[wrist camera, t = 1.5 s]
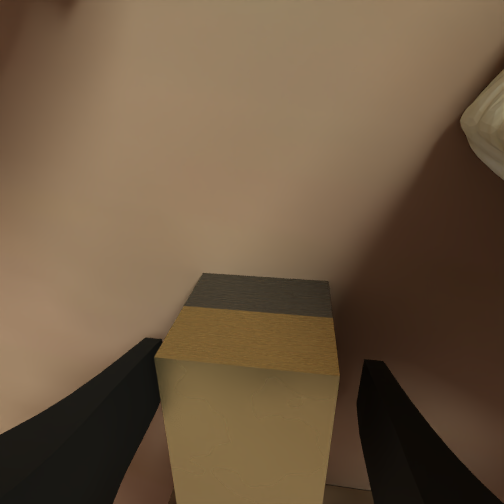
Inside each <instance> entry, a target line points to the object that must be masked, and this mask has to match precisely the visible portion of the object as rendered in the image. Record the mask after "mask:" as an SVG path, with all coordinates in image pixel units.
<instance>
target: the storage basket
mask: <svg viewBox="0 0 504 504" xmlns="http://www.w3.org/2000/svg"><path fill="white" fill-rule="evenodd" d="M460 124H461V128H462V129H463V131H464V133H465V134H466V137H467V140H468V142H469V145H470V147H471V148H472V150H473V151H474V153H475V154H476V155H477V157H479V158H480V159H481V160H482V161H483V162H484V163H485V164H486V165H487V166H488V167H489V168H490V169H491V170H492V171H493V172H494V173H495V174H497V175H498V176H499V177H500V178H502V179H503V180H504V69H503V70H502V71H501V72H500V73H499V74H498V75H497V76H496V78H495V79H494V80H493V81H492V82H491V83H490V84H489V85H488V86H487V87H486V88H485V89H484V90H483V91H482V92H481V94H480V95H479V96H478V97H477V98H476V99H475V101H474V102H473V103H472V104H471V105H470V106H469V107H468V108H467V109H466V110H465V112H464V113H463V115H462V117H461V120H460Z"/></svg>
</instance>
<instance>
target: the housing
mask: <svg viewBox="0 0 504 504" xmlns="http://www.w3.org/2000/svg"><path fill="white" fill-rule="evenodd" d="M154 360H155V366H156V373H157V379H158V386H159V392H160V399H161V405H162V412H163V418H164V425H165V431H166V438H167V444H168V450H169V457H170V463H171V470H172V476H173V483H174V489H175V496H176V502H177V504H322V503H323V496H324V489H325V482H326V474H327V467H328V460H329V452H330V445H331V438H332V430H333V423H334V416H335V408H336V401H337V394H338V386H339V379H340V373H339V365H338V356H337V348H336V340H335V332H334V323H333V315H332V307H331V299H330V290H329V282H328V281H315V280H300V279H285V278H270V277H255V276H240V275H225V274H210V273H203V274H202V276H201V278H200V279H199V281H198V283H197V285H196V286H195V288H194V290H193V291H192V293H191V295H190V297H189V298H188V300H187V302H186V303H185V305H184V307H183V309H182V310H181V312H180V314H179V315H178V317H177V319H176V321H175V322H174V324H173V326H172V327H171V329H170V331H169V333H168V334H167V336H166V338H165V339H164V341H163V343H162V345H161V346H160V348H159V350H158V351H157V353H156V355H155V357H154Z"/></svg>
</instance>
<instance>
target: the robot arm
mask: <svg viewBox="0 0 504 504" xmlns="http://www.w3.org/2000/svg"><path fill="white" fill-rule="evenodd" d="M161 345H162V339H154V338H145V339H143V340H142V341H141V342H139V343H138V344H137V345H136V346H134V347H133V348H132V349H131V350H129V351H128V352H127V353H126V354H124V355H123V356H122V357H120V358H119V359H118V360H117V361H115V362H114V363H113V364H111V365H110V366H109V367H108V368H106V369H105V370H104V371H102V372H101V373H100V374H98V375H97V376H96V377H94V378H93V379H91V380H90V381H89V382H87V383H86V384H84V385H83V386H81V387H80V388H79V389H77V390H76V391H74V392H73V393H72V394H70V395H69V396H67V397H66V398H64V399H62V400H61V401H59V402H58V403H56V404H54V405H53V406H51V407H49V408H48V409H46V410H45V411H43V412H41V413H40V414H38V415H36V416H34V417H32V418H31V419H29V420H27V421H25V422H23V423H21V424H19V425H18V426H16V427H14V428H12V429H10V430H8V431H6V432H4V433H3V434H1V435H0V504H113V502H114V499H115V497H116V494H117V492H118V489H119V487H120V484H121V482H122V480H123V477H124V475H125V473H126V471H127V469H128V467H129V465H130V463H131V461H132V459H133V457H134V455H135V453H136V451H137V449H138V447H139V445H140V443H141V441H142V439H143V437H144V435H145V433H146V431H147V429H148V427H149V425H150V423H151V421H152V419H153V417H154V415H155V413H156V411H157V409H158V406H159V403H160V401H161V399H160V392H159V386H158V379H157V373H156V366H155V360H154V357H155V355H156V353H157V351H158V350H159V348H160V346H161ZM357 415H358V425H359V434H360V439H361V444H362V449H363V454H364V458H365V463H366V468H367V473H368V477H369V482H370V487H371V491H372V496H373V501H374V504H504V503H503V502H501V501H500V500H499V499H498V498H497V497H496V496H495V495H494V494H493V493H492V492H491V491H490V490H489V489H487V488H486V487H485V486H484V485H483V484H482V483H481V482H480V481H479V480H478V479H477V478H476V477H475V476H474V475H473V474H472V473H471V471H470V470H469V469H468V468H467V467H466V466H465V465H464V464H463V463H462V462H461V461H460V460H459V459H458V458H457V457H456V455H455V454H454V453H453V452H452V451H451V450H450V449H449V448H448V446H447V445H446V444H445V443H444V442H443V441H442V439H441V438H440V437H439V436H438V435H437V433H436V432H435V431H434V430H433V429H432V427H431V426H430V425H429V424H428V422H427V421H426V420H425V419H424V417H423V416H422V415H421V413H420V412H419V411H418V409H417V408H416V407H415V405H414V404H413V403H412V402H411V400H410V399H409V397H408V396H407V395H406V393H405V392H404V390H403V389H402V388H401V386H400V385H399V383H398V382H397V380H396V379H395V377H394V376H393V374H392V373H391V371H390V370H389V368H388V367H387V365H386V364H385V363H384V362H383V361H377V360H367V359H364V364H363V369H362V375H361V381H360V386H359V392H358V398H357Z"/></svg>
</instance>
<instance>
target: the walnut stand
mask: <svg viewBox="0 0 504 504" xmlns="http://www.w3.org/2000/svg"><path fill="white" fill-rule="evenodd" d="M168 504H177V502H176V496H175V489H173V492H172V495H171V498H170V501H169V503H168ZM322 504H374V501H373V496H372V492H371V491H365V490H358V489H351V488H344V487H337V486H331V485H325V489H324V496H323V503H322Z"/></svg>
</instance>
